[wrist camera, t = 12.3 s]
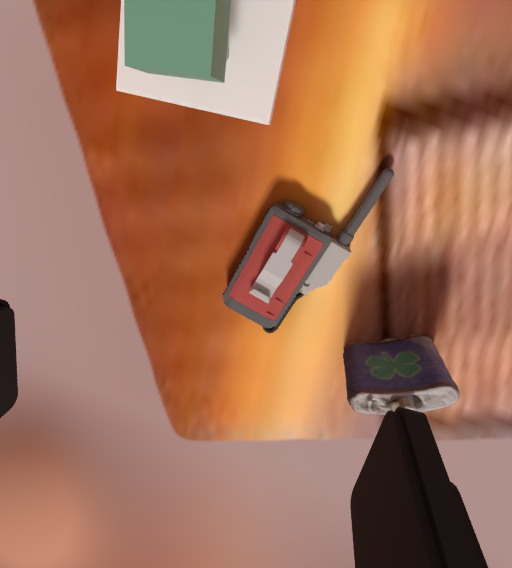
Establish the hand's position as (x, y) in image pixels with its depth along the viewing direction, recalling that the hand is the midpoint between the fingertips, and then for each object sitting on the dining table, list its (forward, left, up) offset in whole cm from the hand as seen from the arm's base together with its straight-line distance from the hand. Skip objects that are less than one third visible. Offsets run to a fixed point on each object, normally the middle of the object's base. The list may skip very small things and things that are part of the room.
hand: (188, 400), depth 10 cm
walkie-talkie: (-2, +4, -31) cm, 31 cm away
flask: (-14, +13, -31) cm, 36 cm away
